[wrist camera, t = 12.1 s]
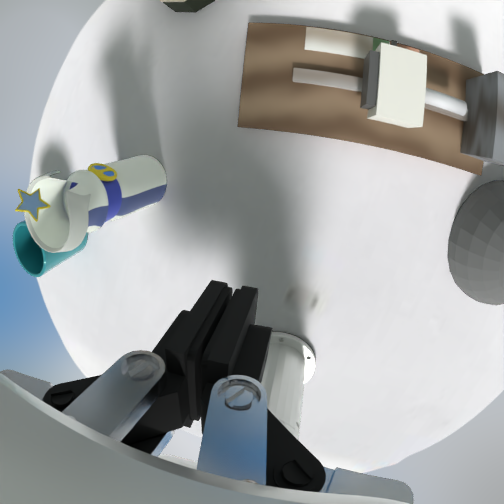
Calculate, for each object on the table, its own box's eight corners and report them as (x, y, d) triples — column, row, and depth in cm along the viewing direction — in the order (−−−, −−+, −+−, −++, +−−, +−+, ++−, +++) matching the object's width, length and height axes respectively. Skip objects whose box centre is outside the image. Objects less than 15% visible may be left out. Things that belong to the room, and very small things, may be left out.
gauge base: (474, 173, 31) (514, 186, 22) (241, 127, 36) (217, 124, 27) (482, 78, 26) (522, 69, 17) (251, 27, 30) (232, -3, 21)
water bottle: (131, 141, 39) (-18, 168, 16) (177, 168, 39) (33, 217, 16) (112, 189, 42) (-22, 246, 19) (155, 217, 43) (26, 299, 20)
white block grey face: (451, 140, 28) (470, 142, 23) (358, 116, 30) (366, 113, 25) (456, 62, 24) (474, 54, 19) (364, 35, 26) (372, 20, 21)
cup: (82, 184, 43) (33, 201, 33) (93, 252, 47) (51, 280, 37) (50, 188, 45) (4, 204, 34) (61, 250, 49) (20, 274, 39)
